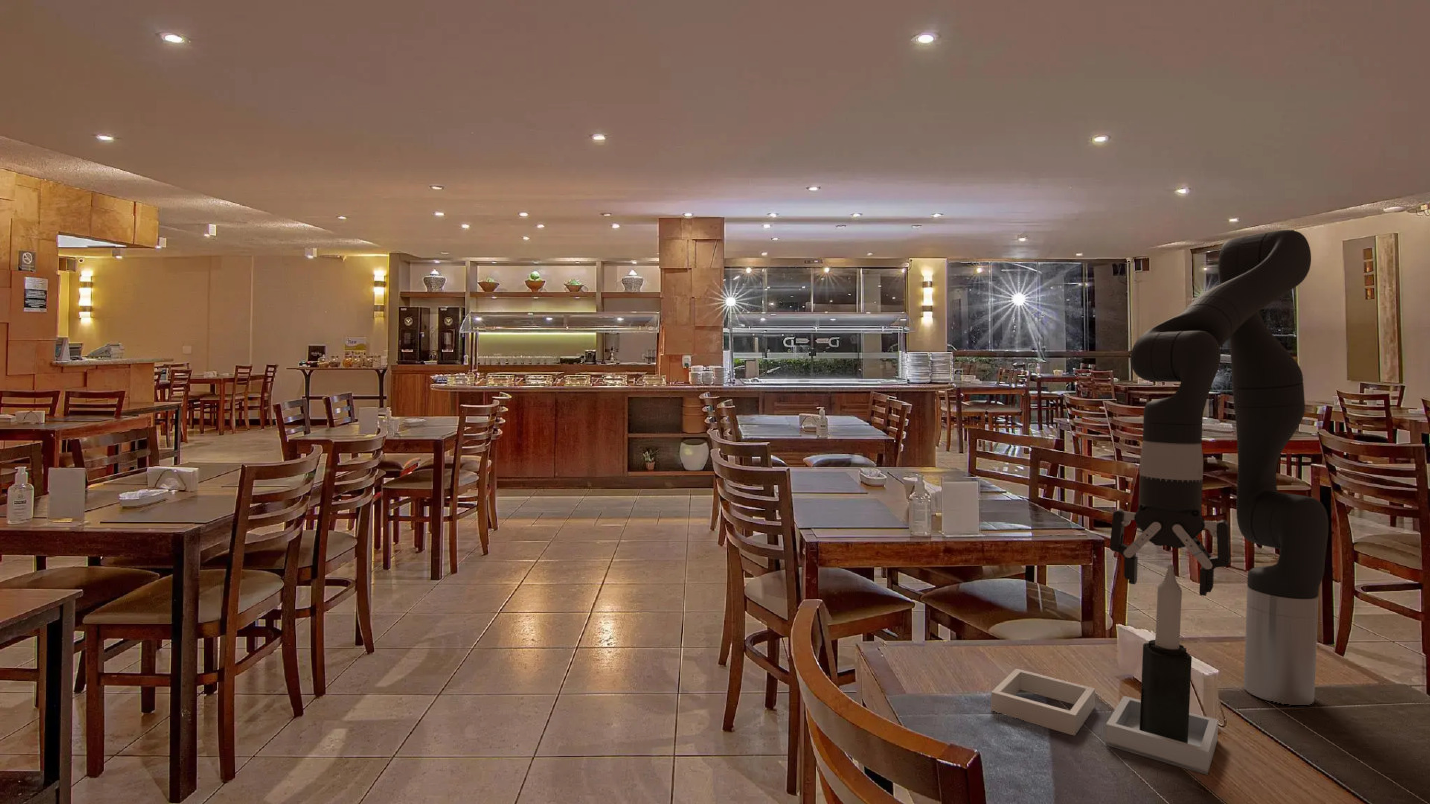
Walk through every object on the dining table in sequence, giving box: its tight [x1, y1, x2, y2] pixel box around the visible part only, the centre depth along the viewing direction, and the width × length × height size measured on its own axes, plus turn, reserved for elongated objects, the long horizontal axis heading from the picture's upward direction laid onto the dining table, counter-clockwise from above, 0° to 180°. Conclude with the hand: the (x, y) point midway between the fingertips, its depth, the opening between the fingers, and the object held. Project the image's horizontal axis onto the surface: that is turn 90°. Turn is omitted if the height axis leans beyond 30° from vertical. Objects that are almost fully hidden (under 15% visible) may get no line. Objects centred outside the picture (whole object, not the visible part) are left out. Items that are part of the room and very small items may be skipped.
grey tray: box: [1105, 695, 1219, 776], centre depth 104 cm, size 12×12×3 cm
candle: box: [1139, 563, 1193, 743], centre depth 104 cm, size 5×5×25 cm
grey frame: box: [990, 668, 1096, 736], centre depth 114 cm, size 12×12×3 cm
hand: (1166, 588), depth 103 cm, fingers open, 8 cm apart
